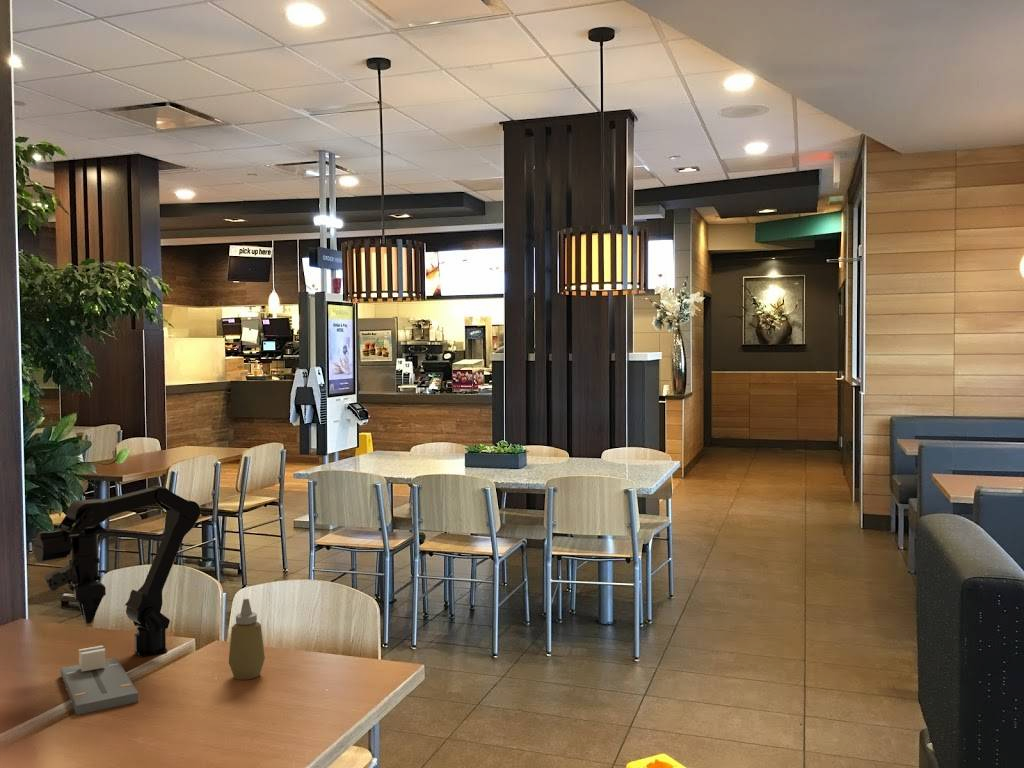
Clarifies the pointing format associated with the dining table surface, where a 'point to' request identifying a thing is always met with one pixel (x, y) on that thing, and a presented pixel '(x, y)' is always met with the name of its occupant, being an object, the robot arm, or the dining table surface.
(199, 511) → the robot arm
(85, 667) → the cap
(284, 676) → the dining table surface
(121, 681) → the plate
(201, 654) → the dining table surface
